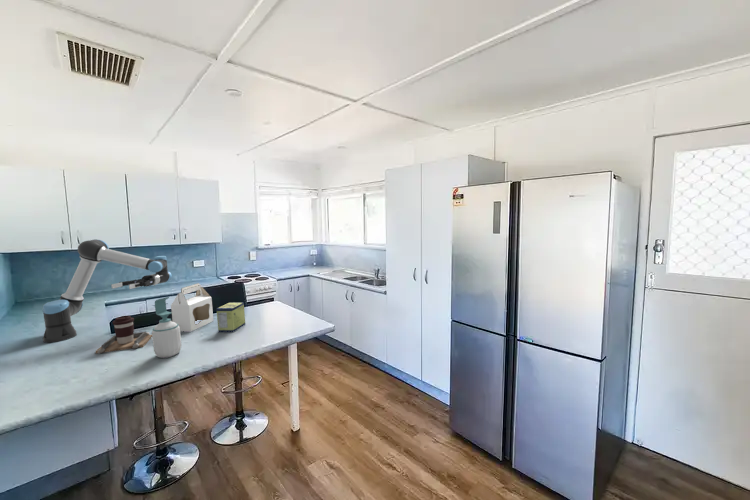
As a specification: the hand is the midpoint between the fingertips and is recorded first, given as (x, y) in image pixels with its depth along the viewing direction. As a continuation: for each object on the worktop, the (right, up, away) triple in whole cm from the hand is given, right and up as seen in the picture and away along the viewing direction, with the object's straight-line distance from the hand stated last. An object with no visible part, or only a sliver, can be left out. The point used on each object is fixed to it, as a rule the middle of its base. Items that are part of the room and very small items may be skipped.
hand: (120, 286), depth 202 cm
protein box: (+67, -28, +8) cm, 73 cm away
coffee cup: (+15, -31, -14) cm, 37 cm away
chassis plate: (+15, -32, -14) cm, 38 cm away
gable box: (+38, -29, +16) cm, 50 cm away
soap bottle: (+50, -33, -31) cm, 67 cm away
